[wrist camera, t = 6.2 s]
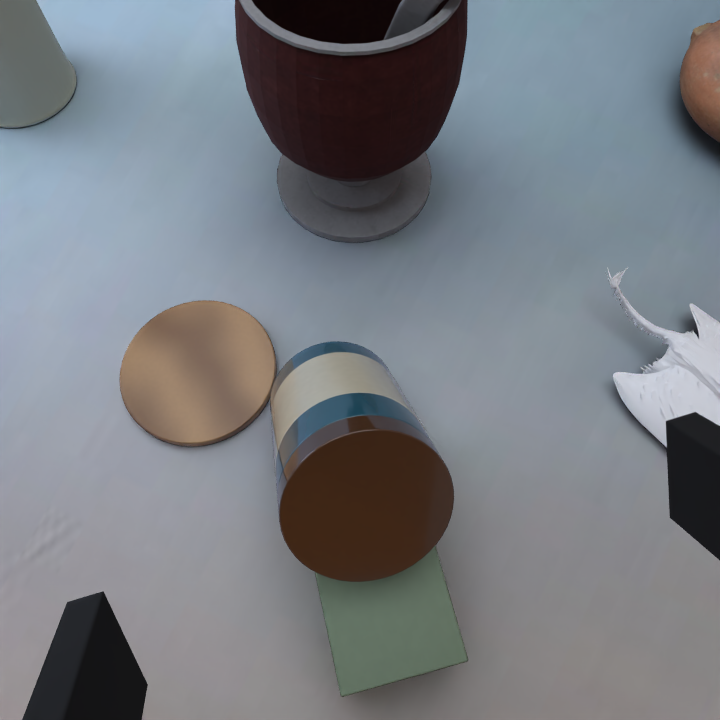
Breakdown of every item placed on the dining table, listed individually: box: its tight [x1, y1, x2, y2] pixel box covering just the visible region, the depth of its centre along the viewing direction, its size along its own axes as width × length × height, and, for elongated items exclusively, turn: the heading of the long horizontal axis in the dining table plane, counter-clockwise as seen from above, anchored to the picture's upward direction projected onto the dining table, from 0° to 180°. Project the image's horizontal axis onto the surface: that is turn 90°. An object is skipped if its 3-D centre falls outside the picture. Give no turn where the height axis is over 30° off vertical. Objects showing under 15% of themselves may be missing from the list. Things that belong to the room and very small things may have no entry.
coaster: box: [120, 301, 277, 446], centre depth 42 cm, size 11×11×1 cm
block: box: [315, 546, 468, 697], centre depth 34 cm, size 7×6×6 cm
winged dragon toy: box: [606, 267, 720, 448], centre depth 40 cm, size 18×10×4 cm, turn 41°
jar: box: [270, 341, 454, 582], centre depth 33 cm, size 14×8×14 cm, turn 14°
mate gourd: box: [235, 0, 467, 242], centre depth 40 cm, size 16×14×20 cm
